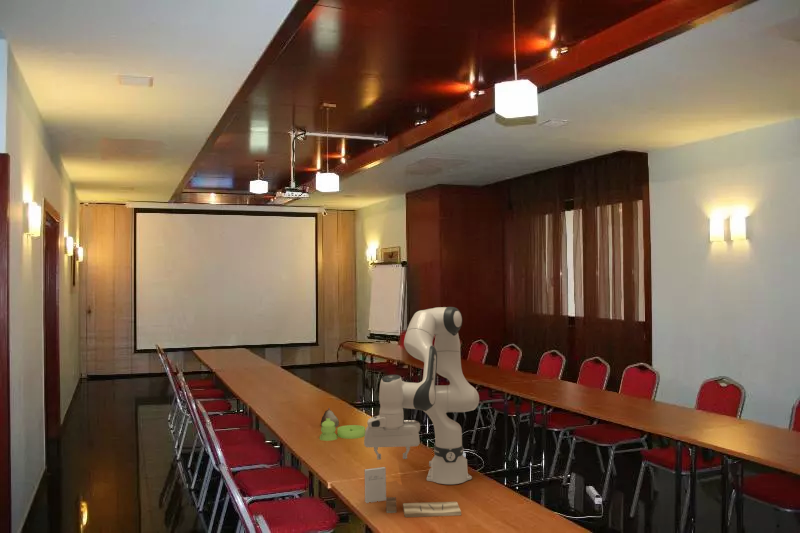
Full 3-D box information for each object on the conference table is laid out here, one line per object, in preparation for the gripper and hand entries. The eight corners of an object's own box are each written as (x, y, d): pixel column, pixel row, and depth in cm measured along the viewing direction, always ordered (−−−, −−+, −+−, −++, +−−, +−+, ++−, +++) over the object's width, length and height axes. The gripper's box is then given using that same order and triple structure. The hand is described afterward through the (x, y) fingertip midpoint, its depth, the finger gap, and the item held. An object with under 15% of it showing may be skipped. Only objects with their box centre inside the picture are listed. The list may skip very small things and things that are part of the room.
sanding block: (386, 508, 242) (386, 497, 242) (395, 508, 243) (395, 497, 243) (386, 513, 237) (386, 501, 237) (396, 512, 238) (396, 501, 238)
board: (403, 506, 244) (403, 503, 244) (456, 504, 245) (456, 501, 245) (404, 517, 233) (404, 513, 233) (461, 515, 234) (461, 511, 234)
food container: (357, 435, 358) (357, 411, 358) (369, 440, 345) (369, 416, 346) (314, 441, 346) (314, 417, 346) (325, 447, 333) (325, 422, 333)
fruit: (333, 427, 376) (333, 406, 376) (342, 430, 369) (342, 409, 369) (318, 430, 370) (317, 409, 370) (327, 433, 362) (327, 411, 362)
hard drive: (364, 502, 249) (364, 469, 249) (385, 499, 252) (384, 466, 252) (366, 503, 247) (365, 470, 248) (386, 500, 250) (386, 467, 251)
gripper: (419, 418, 244) (419, 456, 244) (363, 419, 243) (364, 457, 243) (420, 421, 238) (421, 460, 238) (363, 422, 237) (364, 461, 236)
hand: (392, 458), depth 240 cm, fingers open, 8 cm apart
